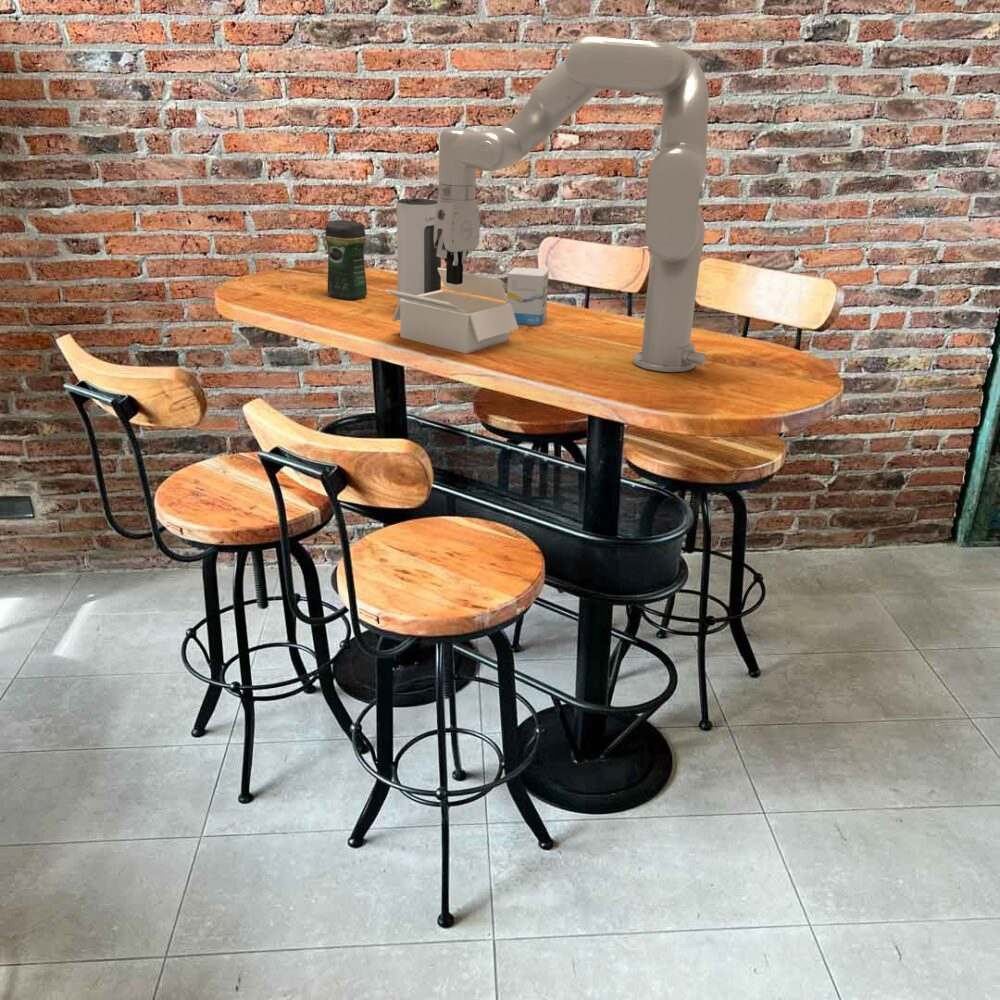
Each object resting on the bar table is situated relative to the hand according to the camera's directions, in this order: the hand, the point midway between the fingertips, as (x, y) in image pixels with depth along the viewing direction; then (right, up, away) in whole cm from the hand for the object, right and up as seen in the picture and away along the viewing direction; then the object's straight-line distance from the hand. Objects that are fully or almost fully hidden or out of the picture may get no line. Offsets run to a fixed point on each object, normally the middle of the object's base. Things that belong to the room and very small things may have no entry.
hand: (454, 283), depth 207 cm
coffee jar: (-29, +5, +39) cm, 49 cm away
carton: (0, -11, +5) cm, 12 cm away
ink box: (+16, -4, +23) cm, 28 cm away
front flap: (-4, -5, -4) cm, 8 cm away
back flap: (+4, -1, +7) cm, 8 cm away
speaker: (-10, -1, +26) cm, 28 cm away
